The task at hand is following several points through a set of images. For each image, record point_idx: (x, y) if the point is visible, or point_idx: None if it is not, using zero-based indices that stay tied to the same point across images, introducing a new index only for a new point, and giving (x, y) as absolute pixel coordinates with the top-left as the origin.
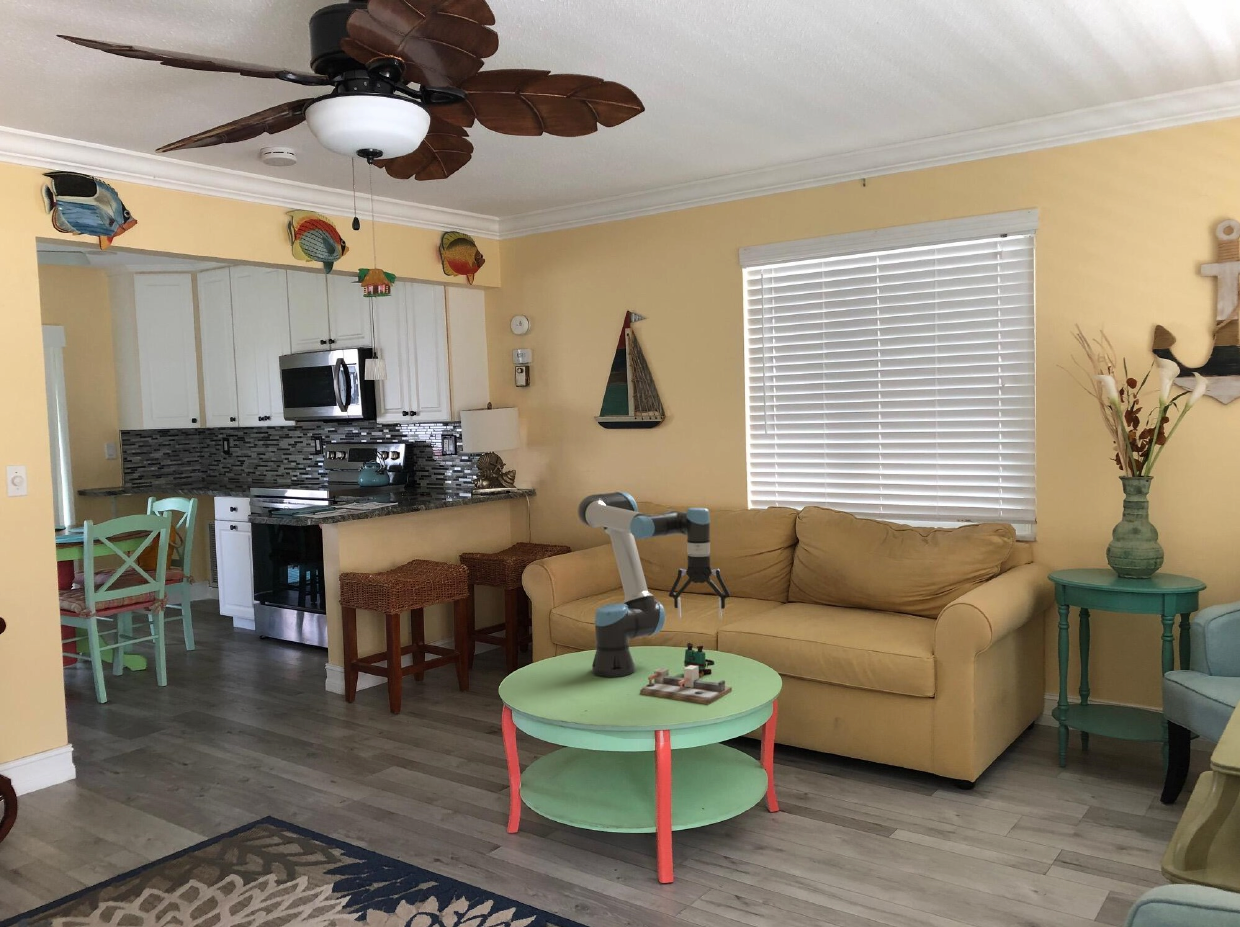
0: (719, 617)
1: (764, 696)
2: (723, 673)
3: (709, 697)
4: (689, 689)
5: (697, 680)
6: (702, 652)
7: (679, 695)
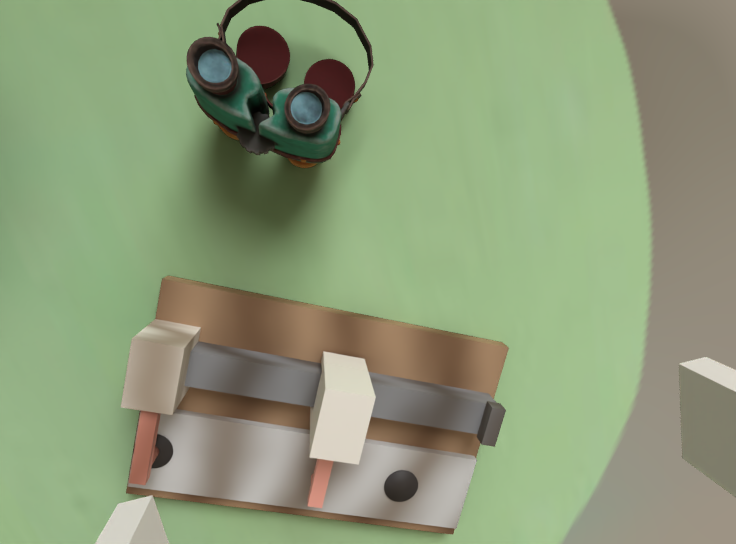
0: (706, 470)
1: (633, 378)
2: (413, 77)
3: (455, 526)
4: None
5: None
6: (329, 134)
7: (324, 512)
